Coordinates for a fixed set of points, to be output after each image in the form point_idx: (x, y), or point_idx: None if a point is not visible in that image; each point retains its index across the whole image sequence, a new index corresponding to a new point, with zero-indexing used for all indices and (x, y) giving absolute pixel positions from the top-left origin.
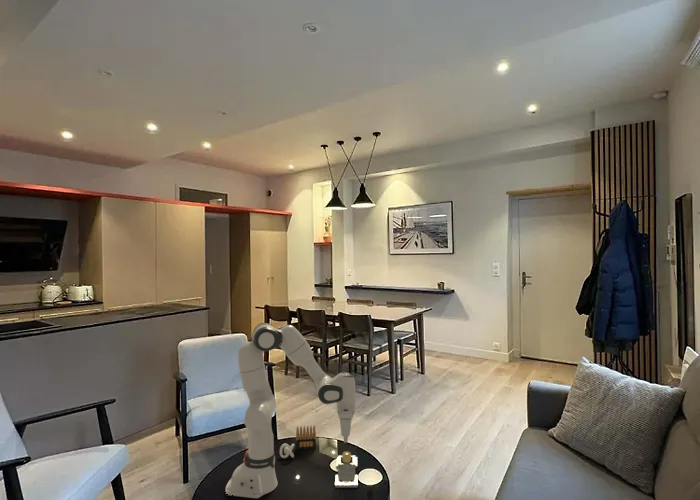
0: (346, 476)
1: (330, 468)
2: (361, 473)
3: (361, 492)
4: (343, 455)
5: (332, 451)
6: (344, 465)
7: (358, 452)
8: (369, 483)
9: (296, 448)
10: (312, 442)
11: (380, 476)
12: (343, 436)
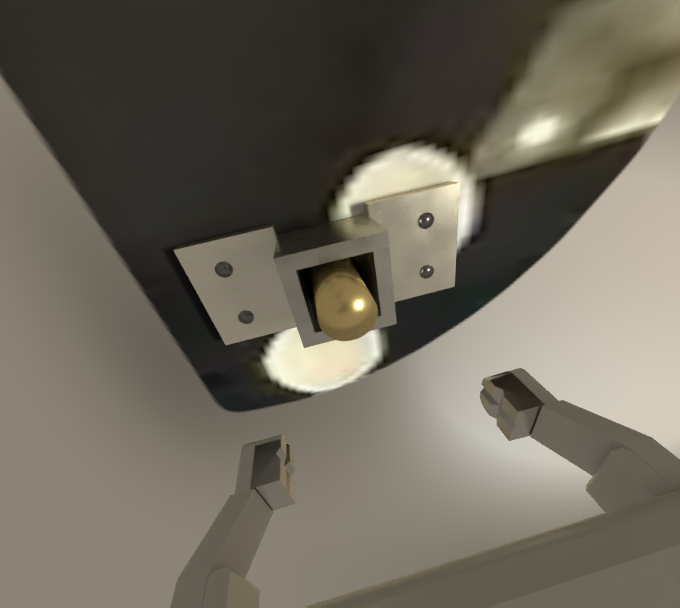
0: (274, 284)
1: (356, 164)
2: None
3: (201, 357)
4: (323, 301)
5: (545, 123)
6: (286, 294)
7: (507, 272)
8: (274, 366)
9: None
10: None
11: (330, 385)
12: (187, 566)
